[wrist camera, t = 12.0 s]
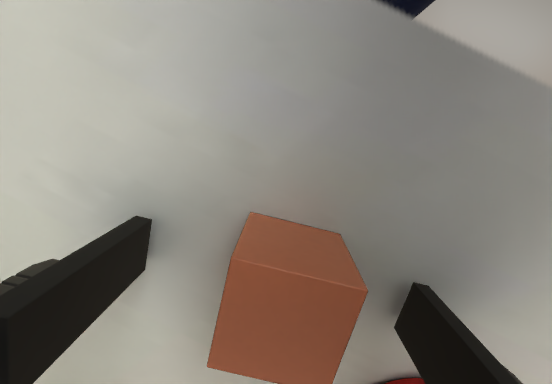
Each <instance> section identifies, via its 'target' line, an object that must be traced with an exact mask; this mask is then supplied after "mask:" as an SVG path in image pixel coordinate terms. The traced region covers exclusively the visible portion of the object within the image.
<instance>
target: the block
mask: <svg viewBox="0 0 552 384" xmlns="http://www.w3.org/2000/svg"><path fill="white" fill-rule="evenodd" d="M367 293H368V289H367V287H366V285H365V283H364V281H363V279H362V277H361V275H360V273H359V271H358V269H357V267H356V265H355V263H354V261H353V259H352V257H351V255H350V253H349V251H348V249H347V247H346V245H345V243H344V241H343V239H342V237H341V235H340V234H338V233H334V232H330V231H326V230H322V229H318V228H314V227H310V226H306V225H302V224H298V223H293V222H289V221H285V220H281V219H277V218H273V217H269V216H265V215H261V214H257V213H253V212H250V214H249V216H248V219H247V221H246V223H245V226H244V228H243V230H242V233H241V235H240V238H239V240H238V242H237V245H236V247H235V249H234V252H233V254H232V257H231V260H230V264H229V269H228V273H227V278H226V282H225V286H224V291H223V295H222V300H221V304H220V309H219V313H218V318H217V322H216V327H215V331H214V336H213V340H212V344H211V349H210V353H209V358H208V362H207V367H209V368H213V369H217V370H221V371H226V372H230V373H234V374H239V375H243V376H247V377H252V378H256V379H260V380H265V381H269V382H273V383H278V384H332V383H333V380H334V377H335V375H336V372H337V370H338V367H339V365H340V362H341V359H342V357H343V354H344V352H345V349H346V347H347V344H348V341H349V339H350V336H351V334H352V331H353V329H354V326H355V323H356V321H357V318H358V316H359V313H360V311H361V308H362V305H363V303H364V300H365V298H366V295H367Z"/></svg>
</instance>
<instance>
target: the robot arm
mask: <svg viewBox="0 0 552 384" xmlns="http://www.w3.org/2000/svg"><path fill="white" fill-rule="evenodd" d="M151 222H152V219H148V218H144V217H139V216H135V217H133V218H131V219H130V220H128V221H126V222H125V223H123V224H121V225H119V226H118V227H116V228H114V229H113V230H111V231H109V232H107V233H106V234H104V235H102V236H101V237H99V238H97V239H96V240H94V241H92V242H90V243H89V244H87V245H85V246H84V247H82V248H80V249H79V250H77V251H75V252H73V253H72V254H70V255H68V256H67V257H65V258H63V259H61V260H55V259H50V260H47V261H44V262H41V263H37V264H34V265H32V266H30V267H28V268H26V269H24V270H23V271H21V272H19V273H17V274H16V276H11V277H10V278H8V279H6V280H4V281H2V283H1V284H0V384H33V383H34V382H35V381H36V380H37V379H38V378H39V377H40V376H41V375H42V374H43V373H44V372H45V371H46V370H47V369H48V368H49V367H50V366H51V365H52V364H53V362H54V361H55V360H56V359H57V358H58V357H59V356H60V355H61V354H62V353H63V352H64V351H65V350H66V349H67V348H68V347H69V346H70V345H71V344H72V343H73V342H74V341H75V340H76V339H77V338H78V337H79V336H80V335H81V334H82V333H83V332H84V331H85V330H86V329H87V328H88V327H89V326H90V325H91V324H92V323H93V322H94V321H95V320H96V319H97V318H98V317H99V316H100V315H101V314H102V313H103V312H104V311H105V310H106V309H107V308H108V307H109V306H110V305H111V304H112V303H113V302H114V301H115V300H116V299H117V298H118V297H119V296H120V294H121V293H122V292H123V291H124V290H125V289H126V288H127V287H128V286H129V285H130V284H131V283H132V282H133V281H134V280H135V279H136V278H137V277H138V276H139V275H140V274H141V273H142V272H143V271H144V270H145V266H146V259H147V251H148V244H149V237H150V230H151ZM394 329H395V330H396V332H397V334H398V336H399V338H400V339H401V341H402V343H403V345H404V347H405V348H406V350H407V352H408V354H409V355H410V357H411V359H412V361H413V363H414V364H415V366H416V368H417V370H418V372H419V373H420V375H421V377H422V379H423V380H424V382H425V384H522V383H521V381H520V380H519V379H518V378H517V377H516V376H515V375H514V374H513V373H511V372H510V371H509V370H508V369H506V368H505V367H504V366H503V365H502V364H500V363H499V361H498V360H497V359H496V358H495V357H494V356H493V355H492V354H491V353H490V352H489V351H488V350H487V349H486V347H485V346H484V345H483V344H482V343H481V342H480V341H479V340H478V339H477V338H476V337H475V336H474V335H473V333H472V332H471V331H470V330H469V329H468V328H467V327H466V326H465V325H464V324H463V323H462V322H461V321H460V319H459V318H458V317H457V316H456V315H455V314H454V313H453V312H452V311H451V310H450V309H449V308H448V307H447V305H446V304H445V303H444V302H443V301H442V300H441V299H440V298H439V297H438V296H437V295H436V294H435V293H434V291H433V290H432V289H431V288H430V287H429V286H427V285H423V284H419V283H415V282H413V284H412V286H411V289H410V291H409V294H408V296H407V298H406V301H405V303H404V305H403V308H402V310H401V312H400V315H399V317H398V319H397V322H396V324H395V326H394Z"/></svg>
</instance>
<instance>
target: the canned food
mask: <svg viewBox="0 0 552 384" xmlns="http://www.w3.org/2000/svg"><path fill="white" fill-rule="evenodd" d="M384 384H425V382H424V380H423V379H422V378H406V379H399V380H394V381H390V382H387V383H384Z"/></svg>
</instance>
